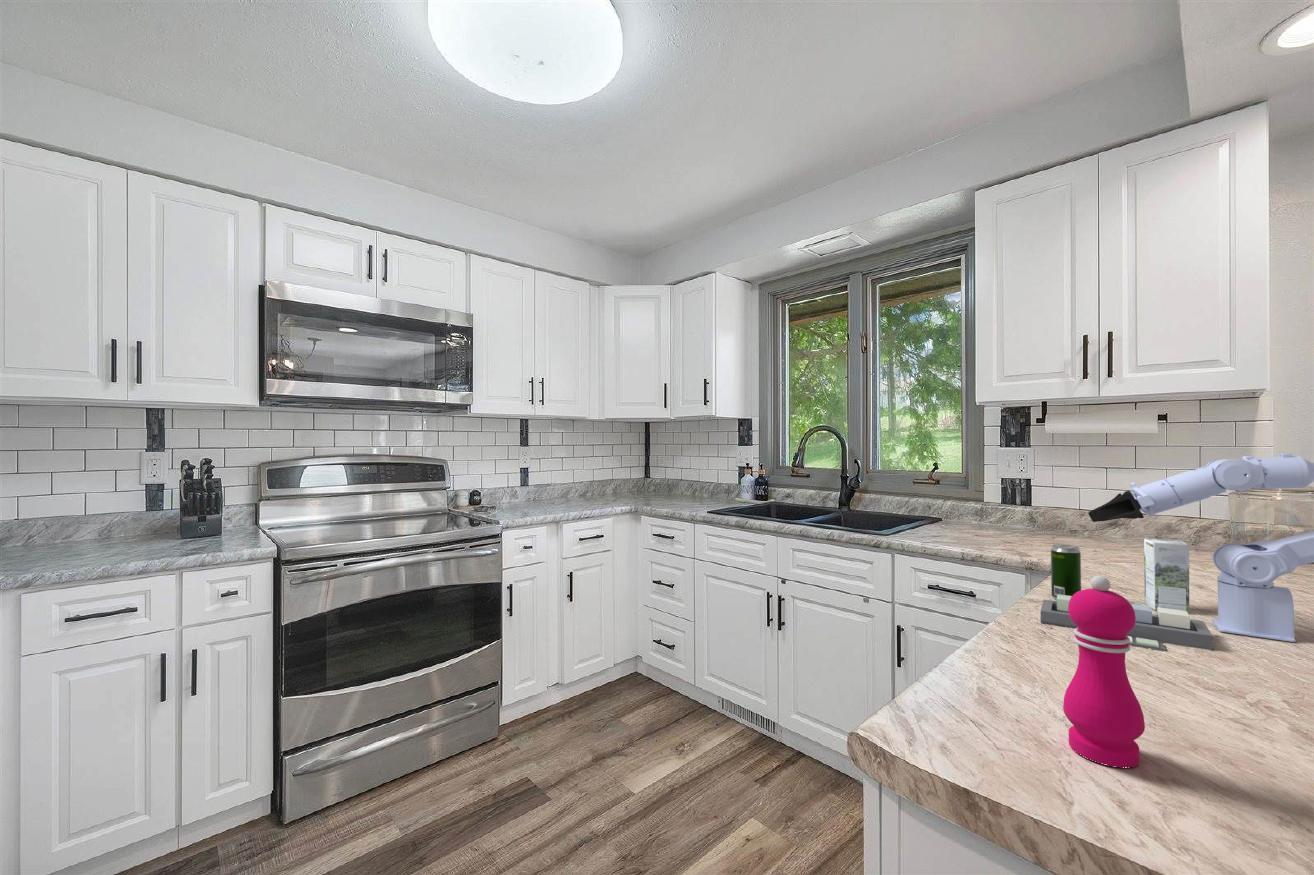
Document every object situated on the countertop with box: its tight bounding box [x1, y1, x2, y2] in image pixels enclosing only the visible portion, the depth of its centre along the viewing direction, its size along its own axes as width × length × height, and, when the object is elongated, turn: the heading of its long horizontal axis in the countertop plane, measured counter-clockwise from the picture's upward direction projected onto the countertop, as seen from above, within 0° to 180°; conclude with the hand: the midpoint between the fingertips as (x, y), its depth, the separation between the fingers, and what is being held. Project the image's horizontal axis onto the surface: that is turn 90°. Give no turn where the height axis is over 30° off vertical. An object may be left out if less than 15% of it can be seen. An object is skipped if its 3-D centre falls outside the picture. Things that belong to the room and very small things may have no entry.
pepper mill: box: [1062, 575, 1146, 769], centre depth 63 cm, size 7×7×20 cm
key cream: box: [1156, 607, 1191, 629], centre depth 100 cm, size 4×4×2 cm
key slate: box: [1130, 603, 1153, 624], centre depth 104 cm, size 4×4×2 cm
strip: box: [1128, 636, 1166, 652], centre depth 98 cm, size 11×4×1 cm, turn 52°
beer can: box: [1050, 543, 1082, 601], centre depth 125 cm, size 5×5×12 cm
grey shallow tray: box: [1040, 599, 1214, 651], centre depth 105 cm, size 24×10×2 cm, turn 52°
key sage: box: [1056, 594, 1072, 611], centre depth 110 cm, size 4×4×2 cm
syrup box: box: [1143, 538, 1190, 614], centre depth 117 cm, size 6×6×14 cm
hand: (1092, 517), depth 115 cm, fingers open, 7 cm apart
